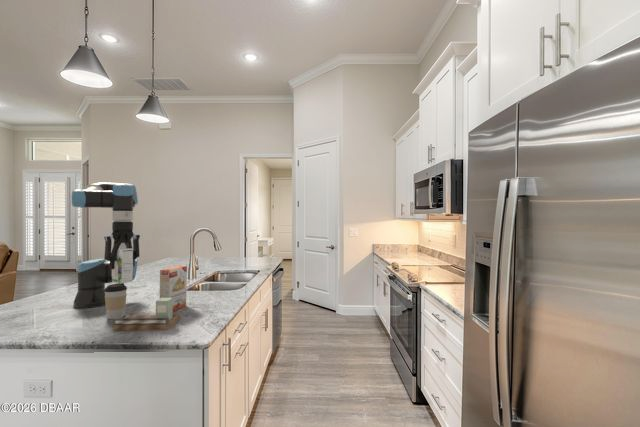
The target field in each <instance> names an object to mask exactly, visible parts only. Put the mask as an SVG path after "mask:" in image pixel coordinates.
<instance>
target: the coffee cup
mask: <svg viewBox="0 0 640 427" xmlns="http://www.w3.org/2000/svg"><path fill="white" fill-rule="evenodd" d="M127 289H128V288H127V286H126V285H125V283H122V284H118V283H111V284H109V285H107V286H106V287H105V290H104V291H105V311H106V319H108V320H113V319H116V318H124V316H125V311H126V303H127V294H128V293H127Z"/></svg>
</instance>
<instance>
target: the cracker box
mask: <svg viewBox="0 0 640 427" xmlns="http://www.w3.org/2000/svg"><path fill="white" fill-rule="evenodd" d="M187 274H188V266H185V265H175V266H172V267H167V268H162V269H159V297H158V299H160V298H173V312H175V311H177V310H179V309H182V308H184V307H187V284H188V283H187V282H188V281H187V280H188V279H187V278H188V275H187Z"/></svg>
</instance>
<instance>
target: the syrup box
mask: <svg viewBox="0 0 640 427" xmlns="http://www.w3.org/2000/svg"><path fill="white" fill-rule="evenodd" d="M115 261H117V277H112V283H111V284H122V283H124V284H126V283H131V282H133V280H132V271H133V247H132V248H119V249H118V252H117V256H116V259H115Z"/></svg>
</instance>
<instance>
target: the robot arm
mask: <svg viewBox="0 0 640 427" xmlns="http://www.w3.org/2000/svg"><path fill="white" fill-rule="evenodd" d="M138 204H139V200H138V194H137V188H136V186H135V184H133V183H127V182H124V183H123V182H96V183H95V182H94V183H91V184H88V185H86V186H84V187H83V188H82V189H73V190H72V191H71V206H72V207H73V208H105V209H107V208H108V209H112V212H111V213H112V218H111V219H112V223H111V224H112V226H111V228H112V232H111V234H110V235H105V236H104V237H103V239H104V240H105V241H104V242H105V246H104V256H103V258H96V259H89V260H86V261H85V260H84V261H82V262H80V263H79V264H78V266H77V292H76V295H75V297H74V300H73V304H72V305H73V308H75V309H91V308H99V307H102V306H106V304H105V291H104V290H105V288H106V284H110V283H111V284H113V283H112V277H117V261H115V259H116V256H117V252H118V249H119V248H133V271H132V281H134V280H135V278H136V276H137V271H138V270H137V269H138V258H139V257H140V242H139V240H140V235H139V234H134V232H133V230H134V222H133V220H134V209H135V208H136V207H135V206H136V205H138ZM112 241H113V243H112ZM112 244H113V246H112Z"/></svg>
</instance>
